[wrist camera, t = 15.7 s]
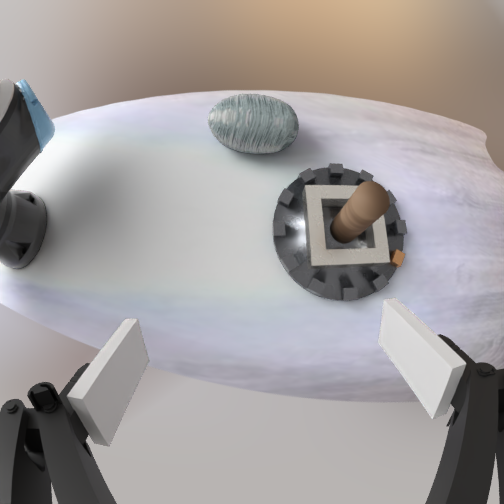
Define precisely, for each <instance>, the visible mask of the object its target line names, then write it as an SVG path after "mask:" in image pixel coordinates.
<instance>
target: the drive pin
mask: <svg viewBox="0 0 504 504" xmlns="http://www.w3.org/2000/svg"><path fill="white" fill-rule="evenodd" d="M389 205H390V199H389V196H388V193H387V191H386V190H385V189H384V188H383V187H382V186H381V185H380V184H378V183H376V182H373V181H366V182H363V183H361V184H360V185H359V186H358V187H357V189H356V190H355V191H354V193H353V194H352V196H351V197H350V198H349V200H348V201H347V202H346V204H345V205H344V206H343V208H342V209H341V210H340V212H339V213H338V214H337V216H336V217H335V218H334V220H333V221H332V223H331V225H330V233H331V235H332V237H333V238H334V240H336V241H337V242H339V243H342V244H346V243H350V242H351V241H353V240H354V239H355V238H356V237H357V236H359V235H360V234H361V233H362V232H363V231H365V230H366V229H367V228H368V227H369V226H371V225H372V224H373V223H374V222H375V221H376V220H378V219H379V218H380V217H381V216H382V215H384V214H385V213H386V212H387V210H388V208H389Z"/></svg>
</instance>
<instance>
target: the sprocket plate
mask: <svg viewBox="0 0 504 504" xmlns="http://www.w3.org/2000/svg"><path fill="white" fill-rule="evenodd" d="M372 178H373V175H371V174H370V173H368V172H366V171H364V170H362V171H361V172H360V173H358V172H355V171H352V170H349V169H344V168H343V165H342V164H331V163H330V164H329V166H328V168H321V169H317V170H313V171H312V170H311V169H310V168H309V169H307V170H305V171H304V172H302V173H300V174H299V176H298V178H297V179H296V180H295V181H294V182H293V183H291V184H290V185H289V187H288V188H287V189H285V188H284V190H283V192H282V194H281V195H280V197H279V199H278V204H277V207H276V210H275V214H274V220H273V240H274V245H275V249H276V252H277V255H278V257H279V260H280V261H281V263H282V265H283V267H284V268H285V270H286V271H287V273H288V274H289V275H290V276H291V277H292V278H293V279H294V281H295V282H296V283H298V284H299V285H300V286H301V287H303V288H304V289H306V290H307V291H309V292H311V293H313V294H315V295H317V296H319V297H323V298H326V299H330V300H337V301H347V300H356V299H358V298H362V297H365V296H367V295H370V294H372V293H374V292H378V291H379V290H381V289H382V288H383V287H385V286H386V285H387V284H388V280H389V279H390V278H391V277H392V275H393V273H394V272H395V270H396V268H398V267H400V266H401V265H402V262H403V259H404V256H405V254H404V253H403V252H402V250H403V235H405V234H406V233H407V229H406V223H405V220H400V217H399V214H398V211H397V209H396V207H395V205H394V203H395V202H396V201H397V200H396V199H395V197H394V196H393V194H392V193H391V192H390V190H388V191H387V193H388V196H389V199H390V205H389V208H388V210H387V212H386V213H385V214H384V215H382V216H381V217H380V218H379V219H378V220H376V221H375V222H374V223H373V224H372V225H371V226H369V227H368V228H367V229H366V230H365V231H363V232H362V233H361V234H360V235H359V236H357V237H356V238H355V239H354V240H353V241H351V242H350V243H346V244H342V243H339V242H337V241H336V240H334V238H333V237H332V235H331V233H330V225H331V223H332V221H333V220H334V218H335V217H336V216H337V214H338V213H339V212H340V210H341V209H342V208H343V206H344V205H345V204H346V202H347V201H348V200H349V198H350V197H351V196H352V194H353V193H354V191H355V190H356V189H357V187H358V186H359V185H360V184H361V183H363V182H366V181H373V180H372ZM373 182H374V181H373Z"/></svg>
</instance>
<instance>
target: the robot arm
mask: <svg viewBox="0 0 504 504" xmlns="http://www.w3.org/2000/svg"><path fill="white" fill-rule="evenodd" d="M54 132H55V126H54V124H53V122H52V121H51V119H50V117H49V116H48V114H47V113H46V111H45V110H44V108H43V106H42V105H41V103H40V102H39V101H38V99H37V97H36V96H35V94H34V92H33V91H32V89H31V88H30V86H29V85H28V83H27V82H26V80H24V79H23V80H21V81H20V82H18V83H16V85H15V84H14V83H13V82H12V81H11V80H9V79H3V80H0V262H1V263H2V264H4V265H6V266H8V267H11V268H15V269H19V268H22V267H24V266H26V265H27V264H29V263H30V262H31V261H32V259H33V258H34V257H35V255H36V254H37V252H38V250H39V248H40V246H41V244H42V241H43V238H44V234H45V229H46V209H45V205H44V203H43V201H42V200H41V198H39V197H38V196H37V195H35V194H33V193H32V192H29V191H21V190H10V189H11V188H12V186H13V185H14V184H15V182H16V181H17V180H18V179H19V177H20V176H21V175H22V173H23V172H24V171H25V170H26V169H27V167H28V166H29V165H30V164H31V163H32V161H33V160H34V159H35V158H36V157H37V156H38V155H39V153H41V152H42V151H43V148H44V147H45V146H46V144H47V143H48V142H49V141H50V140H51V139H52V137H53V135H54ZM378 343H379V345H380V346H381V347H382V349H383V350H384V351H385V353H386V354H387V355H388V357H389V358H390V360H391V361H392V362H393V364H394V365H395V366H396V368H397V369H398V371H399V372H400V373H401V375H402V376H403V378H404V379H405V380H406V382H407V383H408V385H409V386H410V388H411V389H412V390H413V392H414V393H415V395H416V396H417V398H418V399H419V401H420V402H421V403H422V405H423V406H424V408H425V409H426V410H427V412H428V414H429V415H430V417H431V418H432V419H434V418H437V417H439V416H442V415H444V414H446V413H447V411H448V408H449V406H450V404H452V406H453V407H454V408H455V409H454V412H453V414H452V416H451V418H450V420H449V422H448V424H447V426H449V425H450V427H449V431H448V435H447V440H446V443H445V447H444V451H443V454H442V458H441V461H440V464H439V468H438V471H437V474H436V477H435V480H434V483H433V486H432V488H431V491H430V493H429V496H428V498H427V501H426V503H425V504H487V500H488V495H489V490H490V486H491V480H492V475H493V468H494V461H495V453H496V459H497V468H498V479H499V496H500V504H504V369H499V370H496V369H495V368H494V366H492V365H490V364H488V363H475V362H474V361H473V360H472V359H471V358H470V357H469V356H468V355H467V354H466V353H465V352H463V351H462V350H460V348H459V347H458V346H457V345H455V343H454V342H453V341H451V340H450V339H449V338H447V337H445V336H443V335H441V334H440V335H436V334H435V333H434V332H433V331H432V330H431V329H430V328H429V327H428V326H427V325H426V324H425V323H423V322H422V321H421V320H420V319H419V318H418V317H417V316H416V315H415V314H413V313H412V312H411V311H410V310H409V309H408V308H407V307H406V306H404V305H403V304H402V303H401V302H400V301H399V300H398V299H396V298H391V299H384V300H383V310H382V318H381V326H380V333H379V340H378ZM148 363H149V358H148V354H147V351H146V347H145V344H144V340H143V337H142V333H141V329H140V325H139V321H138V319H125V320H124V321H123V322H122V324H121V325H120V326H119V327H118V329H117V330H116V331H115V332H114V334H113V335H112V336H111V338H110V339H109V340H108V341H107V343H106V344H105V345H104V347H103V348H102V349H101V350H100V352H99V353H98V354H97V356H96V357H95V358H94V360H93V361H92V362H91V363H86V364H85V365H84V366H82V367H81V368H80V369H78V371H77V372H76V373H75V375H74V377H72V378H71V380H70V382H68V384H67V385H66V386H65V388H64V389H63V390H62V392H61V393H60V394H59V395H58V393H57V391H56V389H55V387H54V386H53V384H51V383H48V382H42V383H38V384H36V385H34V386H33V387H32V388H31V389H30V390H29V392H28V395H27V396H28V398H29V399H30V401H31V403H32V405H33V406H34V408H26V407H25V406H24V404H23V402H22V401H21V400H19V399H12V400H9V401H7V402H6V403H5V404H4V405H3V406H2V408H1V411H0V504H52V493H51V482H52V485H53V489H54V492H55V495H56V498H57V501H58V504H117V503H116V502H115V500H114V498H113V496H112V494H111V492H110V491H109V489H108V487H107V485H106V483H105V481H104V479H103V477H102V475H101V472H100V470H99V469H98V466H97V464H96V461H95V459H94V457H93V455H92V452H91V450H90V447H89V445H88V444H87V443H86V439H87V437H88V435H89V436H90V437H91V439H92V441H93V442H94V443H96V444H100V445H104V446H110V444H111V442H112V439H113V437H114V435H115V433H116V431H117V428H118V426H119V424H120V422H121V420H122V417H123V415H124V413H125V411H126V408H127V406H128V404H129V402H130V400H131V398H132V395H133V394H134V392H135V389H136V387H137V385H138V383H139V381H140V379H141V377H142V375H143V373H144V371H145V369H146V367H147V365H148Z"/></svg>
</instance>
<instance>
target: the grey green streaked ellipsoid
mask: <svg viewBox="0 0 504 504" xmlns="http://www.w3.org/2000/svg"><path fill="white" fill-rule="evenodd" d="M208 125H209V127H210V129H211V131H212V133H213V135H214V136H215V137H216V139H217V140H218V141H219V142H220V143H222V144H223V145H224V146H226V147H228V148H230V149H233V150H236V151H239V152H243V153H253V154H263V153H273V152H278V151H280V150H283V149H285V148H286V147H288V146H289V145H290V144H291V143H292V142H293V141H294V140H295V138H296V136H297V133H298V129H299V124H298V118H297V115H296V114H295V112H294V110H293V109H292V108H291V107H290V106H289V105H288V104H286V103H285V102H283V101H281V100H279V99H276V98H273V97H269V96H265V95H258V94H240V95H235V96H231V97H229V98H226V99H224V100H222V101H221V102H219V103H218V104H217V105H216V106H215V107H214V108H213V109H212V110H211V111H210V113H209V116H208Z"/></svg>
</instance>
